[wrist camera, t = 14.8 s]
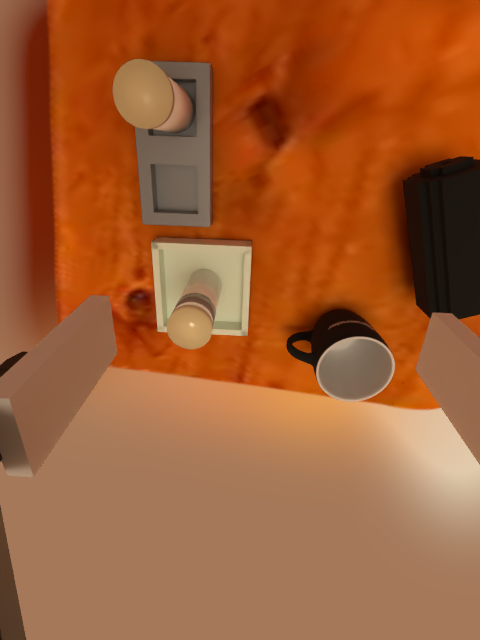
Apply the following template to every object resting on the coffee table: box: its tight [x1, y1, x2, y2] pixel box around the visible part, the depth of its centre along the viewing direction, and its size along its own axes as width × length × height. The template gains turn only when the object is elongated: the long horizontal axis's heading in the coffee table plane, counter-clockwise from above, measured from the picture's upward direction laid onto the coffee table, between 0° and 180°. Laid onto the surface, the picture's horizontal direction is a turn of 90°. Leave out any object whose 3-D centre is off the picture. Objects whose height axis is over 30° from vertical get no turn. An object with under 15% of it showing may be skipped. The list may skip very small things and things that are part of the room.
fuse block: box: [113, 59, 213, 227], centre depth 36 cm, size 16×8×13 cm, turn 178°
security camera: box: [403, 156, 480, 319], centre depth 40 cm, size 7×18×10 cm, turn 17°
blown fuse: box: [167, 269, 222, 349], centre depth 42 cm, size 5×5×13 cm
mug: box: [287, 310, 395, 402], centre depth 46 cm, size 12×9×10 cm
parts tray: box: [151, 237, 252, 336], centre depth 47 cm, size 12×12×3 cm
